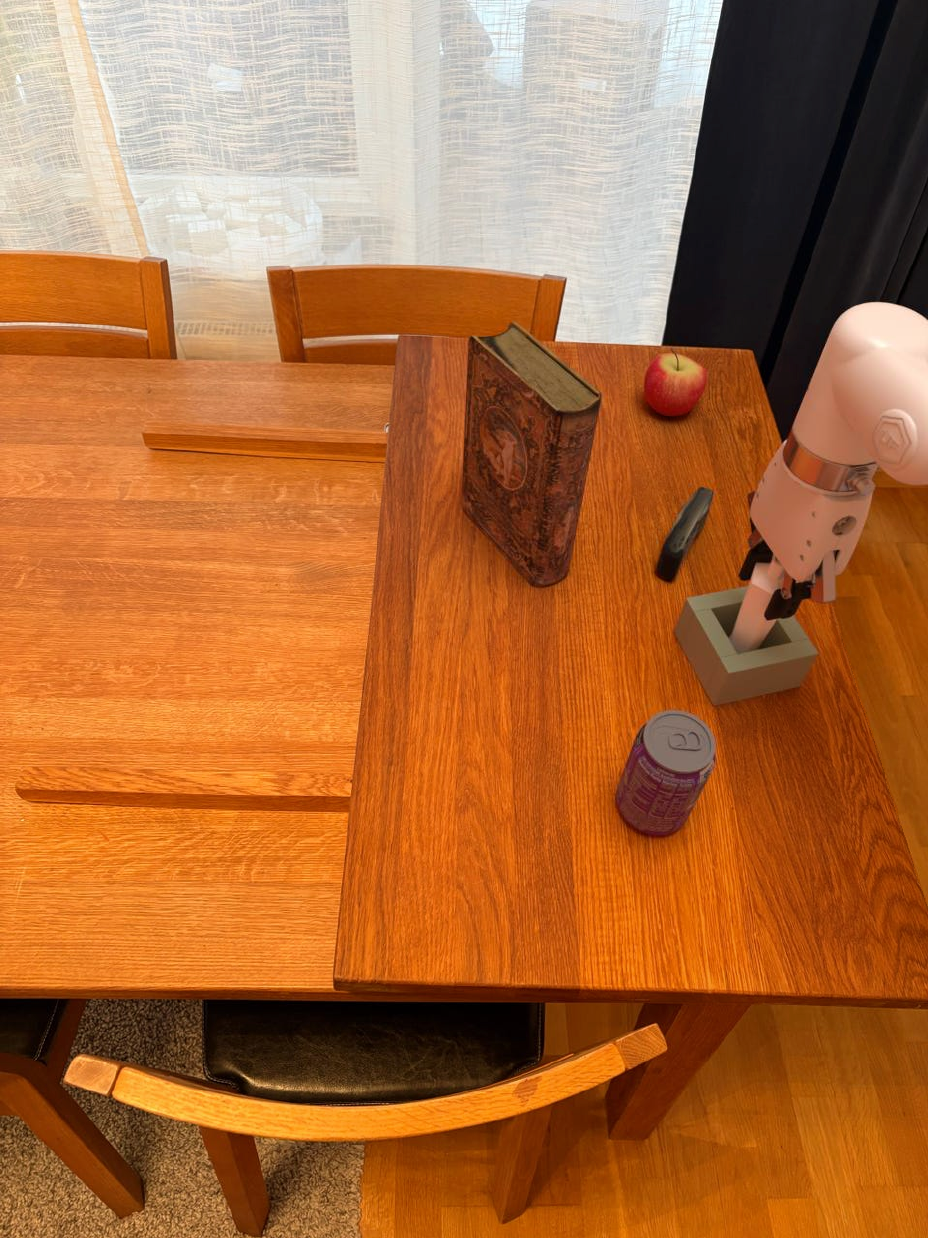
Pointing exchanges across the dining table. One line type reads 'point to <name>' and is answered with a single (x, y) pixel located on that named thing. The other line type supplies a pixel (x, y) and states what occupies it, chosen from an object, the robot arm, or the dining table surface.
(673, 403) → the apple
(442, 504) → the dining table surface
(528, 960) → the dining table surface
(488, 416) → the book
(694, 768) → the beverage can
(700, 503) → the mobile phone
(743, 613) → the perfume bottle
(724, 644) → the holder
